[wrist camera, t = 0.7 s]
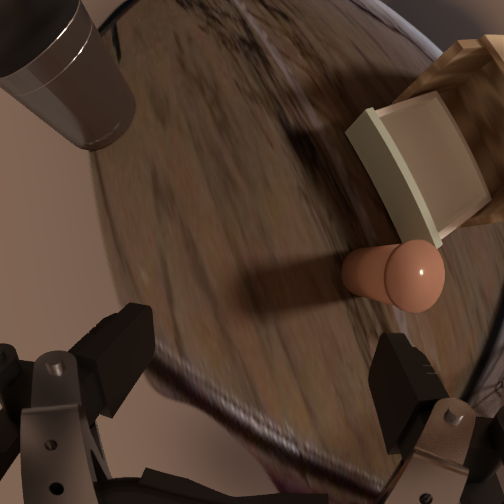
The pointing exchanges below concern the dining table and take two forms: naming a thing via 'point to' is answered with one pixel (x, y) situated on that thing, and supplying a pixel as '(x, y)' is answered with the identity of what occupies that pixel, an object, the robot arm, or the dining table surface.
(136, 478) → the robot arm
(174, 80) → the dining table surface
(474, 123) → the housing
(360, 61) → the dining table surface
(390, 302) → the canister
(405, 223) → the tray
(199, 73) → the dining table surface
